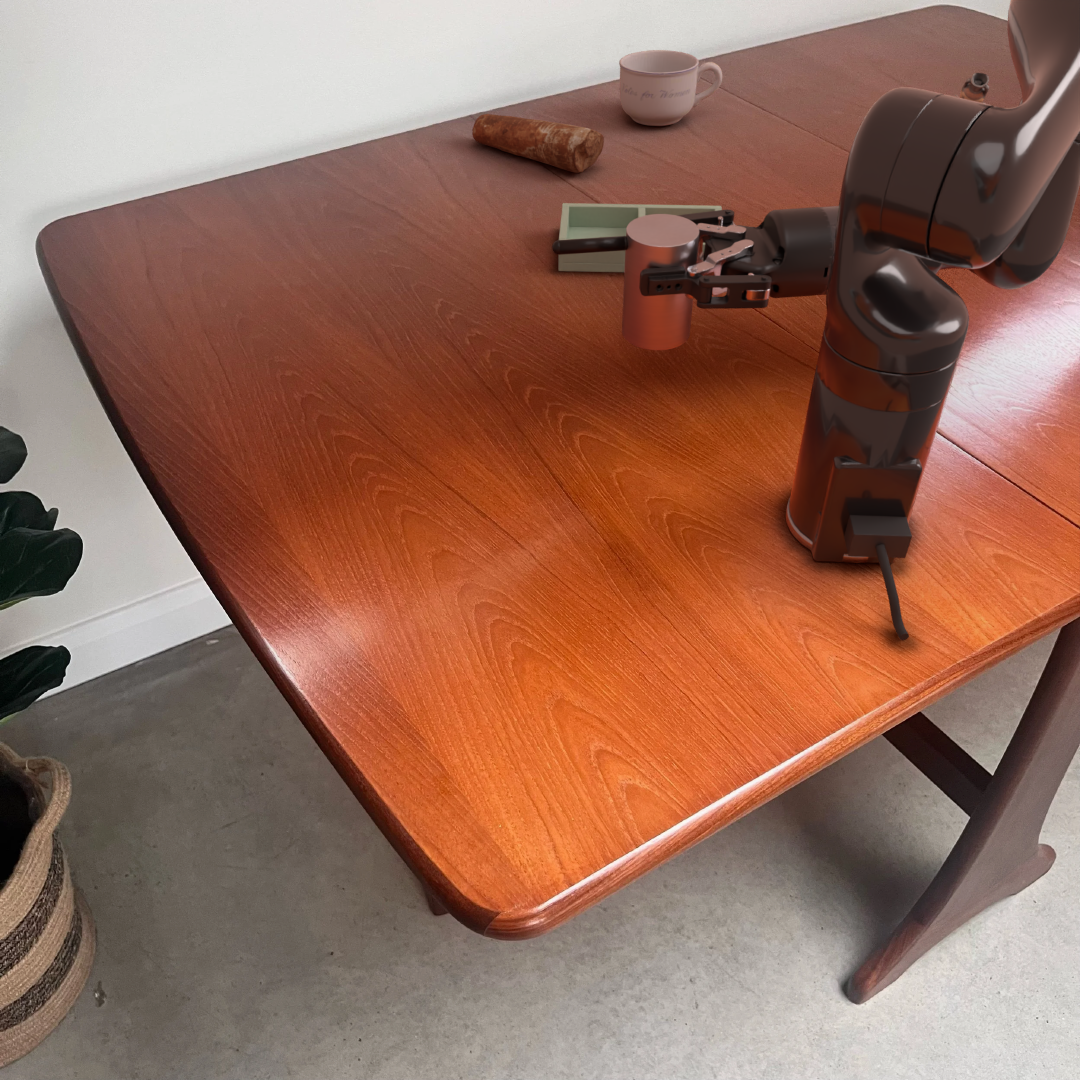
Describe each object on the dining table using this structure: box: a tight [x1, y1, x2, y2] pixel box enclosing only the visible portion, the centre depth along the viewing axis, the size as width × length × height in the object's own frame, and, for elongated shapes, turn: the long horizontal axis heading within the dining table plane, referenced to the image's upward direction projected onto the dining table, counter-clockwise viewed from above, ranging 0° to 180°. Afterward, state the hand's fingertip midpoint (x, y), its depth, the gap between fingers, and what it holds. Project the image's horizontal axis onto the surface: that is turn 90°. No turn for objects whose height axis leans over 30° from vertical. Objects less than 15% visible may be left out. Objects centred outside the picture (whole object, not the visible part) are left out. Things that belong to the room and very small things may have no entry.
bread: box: [471, 113, 605, 174], centre depth 135 cm, size 6×19×6 cm, turn 52°
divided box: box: [557, 202, 723, 273], centre depth 116 cm, size 9×18×4 cm, turn 86°
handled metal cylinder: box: [551, 214, 699, 351], centre depth 92 cm, size 13×6×10 cm, turn 96°
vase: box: [954, 72, 990, 104], centre depth 143 cm, size 5×5×6 cm
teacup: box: [618, 49, 723, 127], centre depth 143 cm, size 14×11×8 cm
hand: (634, 263), depth 90 cm, fingers closed on handled metal cylinder, 6 cm apart
